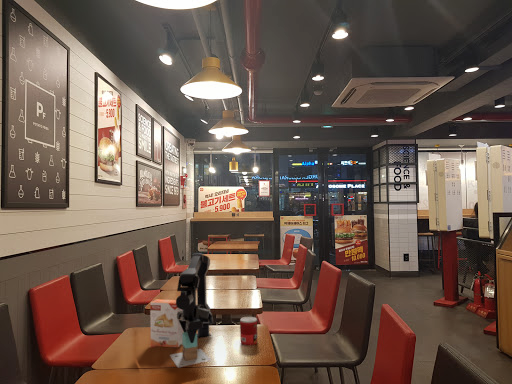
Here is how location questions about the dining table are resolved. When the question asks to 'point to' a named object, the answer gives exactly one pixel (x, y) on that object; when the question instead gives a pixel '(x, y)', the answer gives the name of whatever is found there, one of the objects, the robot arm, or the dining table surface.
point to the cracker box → (165, 323)
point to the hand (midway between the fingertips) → (189, 340)
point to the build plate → (181, 361)
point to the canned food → (248, 330)
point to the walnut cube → (189, 353)
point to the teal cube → (188, 341)
